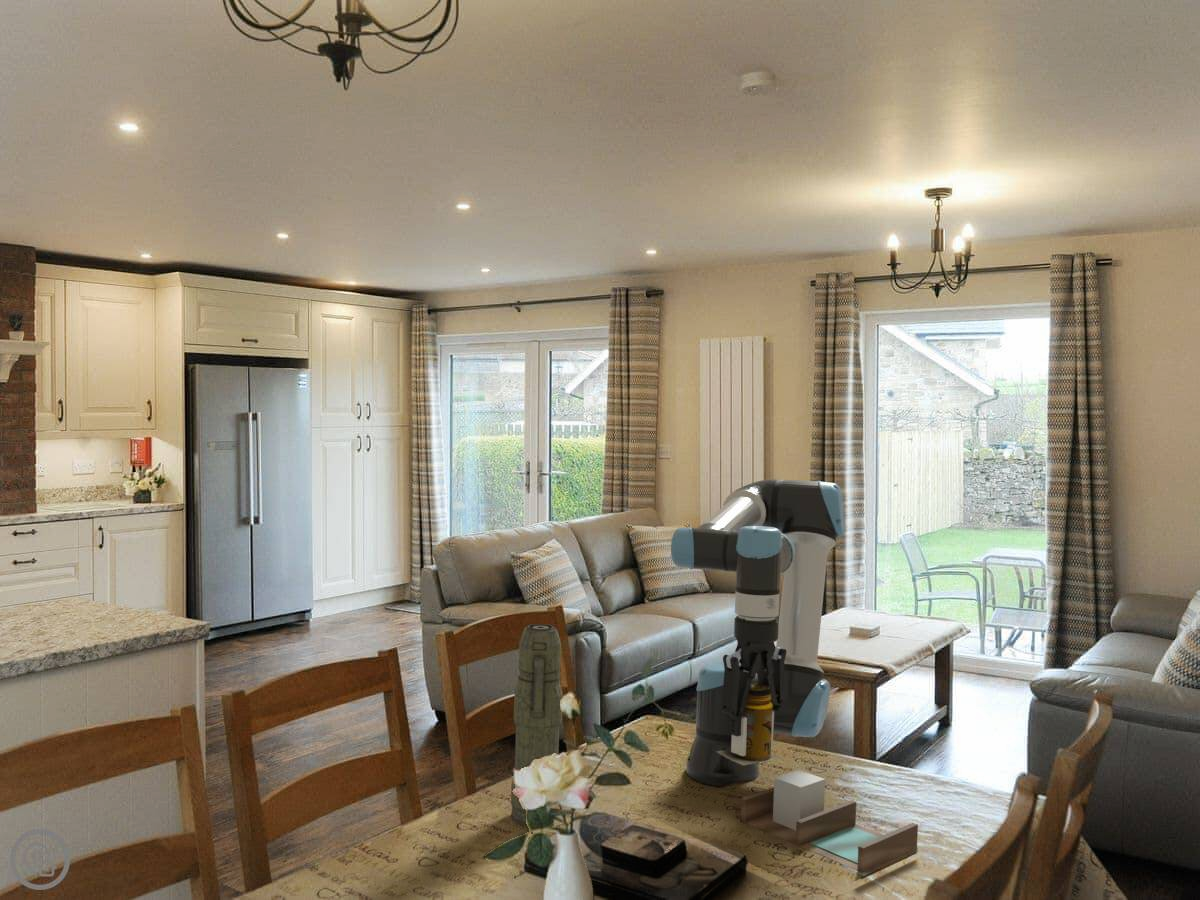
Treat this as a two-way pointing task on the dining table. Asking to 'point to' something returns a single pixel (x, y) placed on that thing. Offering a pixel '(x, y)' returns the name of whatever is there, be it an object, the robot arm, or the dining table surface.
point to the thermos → (536, 701)
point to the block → (797, 797)
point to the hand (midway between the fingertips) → (752, 749)
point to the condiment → (756, 728)
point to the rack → (833, 834)
